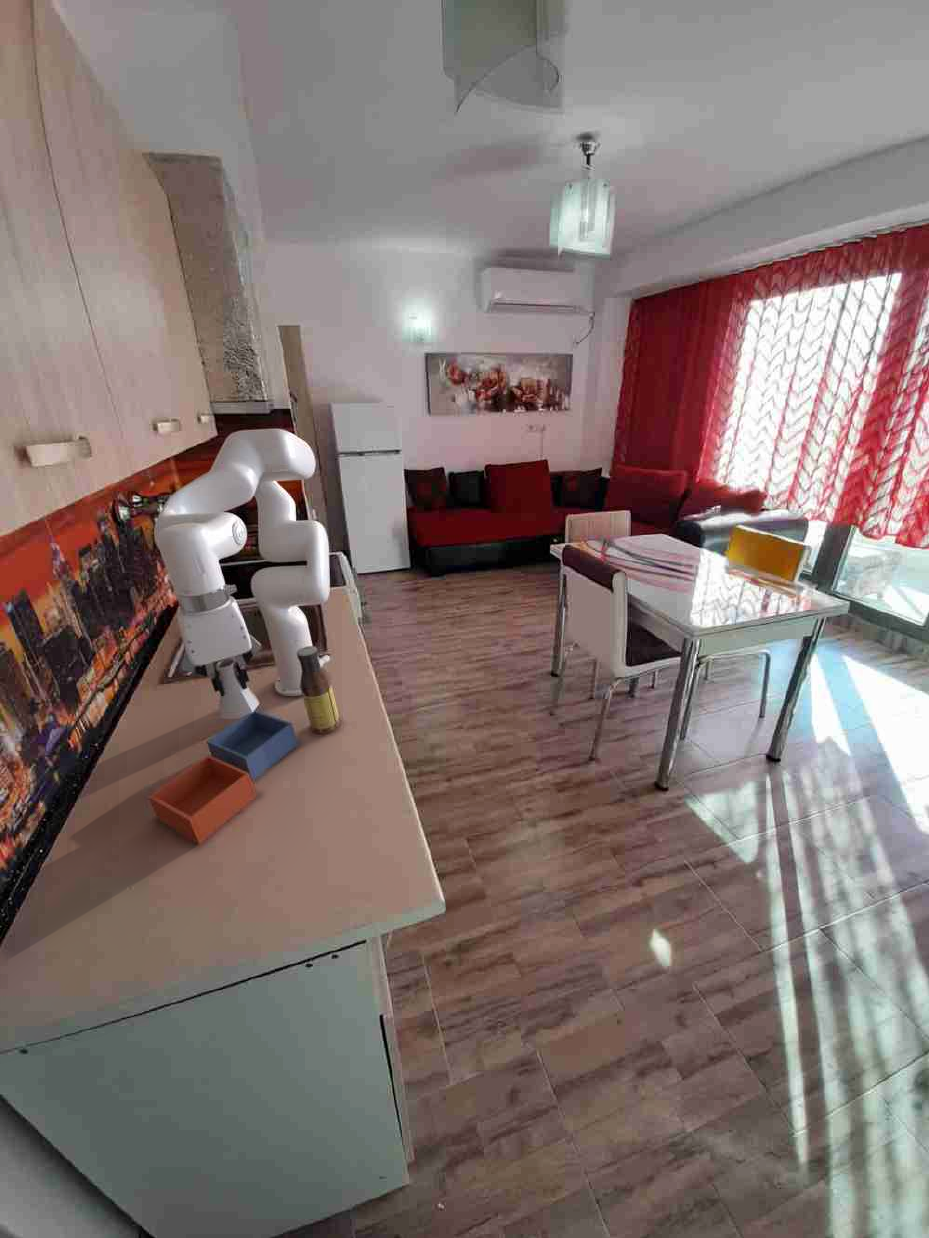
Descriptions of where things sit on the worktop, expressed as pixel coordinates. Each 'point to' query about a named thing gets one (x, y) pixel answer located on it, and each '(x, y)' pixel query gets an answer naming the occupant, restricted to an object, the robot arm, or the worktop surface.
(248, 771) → the blue bin
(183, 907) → the worktop surface
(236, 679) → the flask
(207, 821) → the terracotta bin
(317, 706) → the sauce bottle
